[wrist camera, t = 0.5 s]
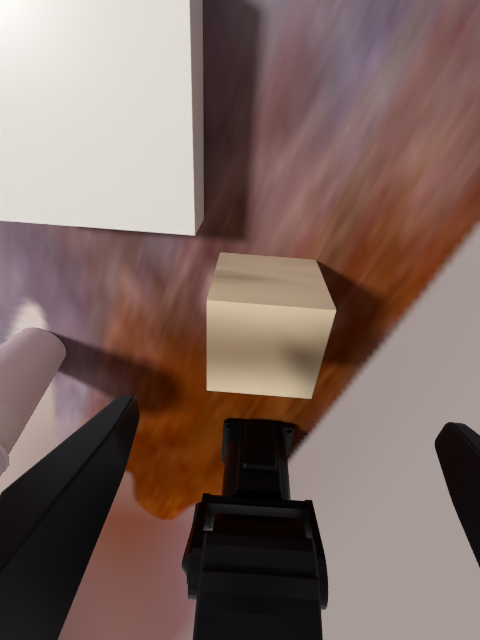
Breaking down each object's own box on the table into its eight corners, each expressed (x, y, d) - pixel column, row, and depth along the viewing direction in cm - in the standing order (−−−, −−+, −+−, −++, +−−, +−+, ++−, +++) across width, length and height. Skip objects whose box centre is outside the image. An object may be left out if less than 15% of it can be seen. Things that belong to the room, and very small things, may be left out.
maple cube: (299, 335, 22) (311, 398, 17) (218, 329, 22) (206, 390, 17) (315, 259, 19) (336, 310, 14) (220, 252, 19) (206, 300, 14)
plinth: (203, 219, 18) (195, 235, 15) (35, 206, 18) (-1, 220, 15) (202, -34, 12) (187, -73, 10) (-44, -51, 12) (-122, -95, 10)
